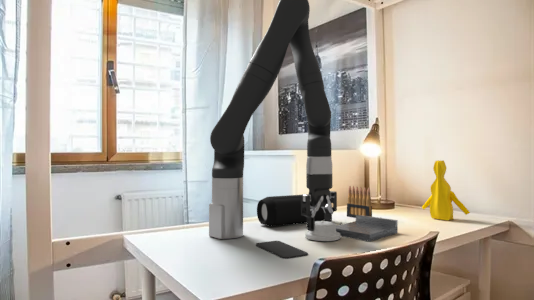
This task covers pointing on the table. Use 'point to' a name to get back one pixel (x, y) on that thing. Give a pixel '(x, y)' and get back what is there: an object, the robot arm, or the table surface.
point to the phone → (281, 249)
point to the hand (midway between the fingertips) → (319, 228)
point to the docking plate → (368, 228)
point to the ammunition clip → (359, 202)
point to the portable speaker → (283, 211)
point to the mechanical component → (323, 232)
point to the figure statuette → (442, 196)
